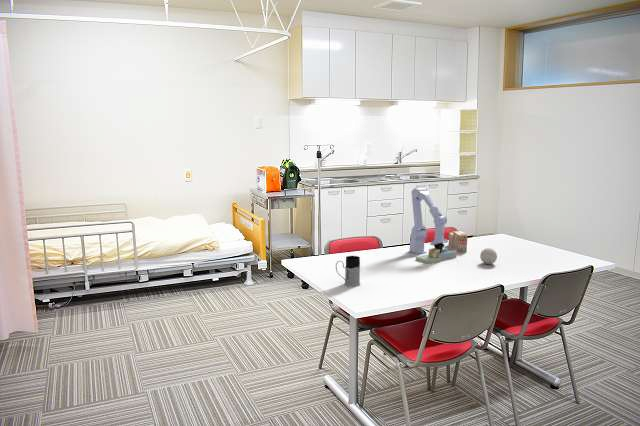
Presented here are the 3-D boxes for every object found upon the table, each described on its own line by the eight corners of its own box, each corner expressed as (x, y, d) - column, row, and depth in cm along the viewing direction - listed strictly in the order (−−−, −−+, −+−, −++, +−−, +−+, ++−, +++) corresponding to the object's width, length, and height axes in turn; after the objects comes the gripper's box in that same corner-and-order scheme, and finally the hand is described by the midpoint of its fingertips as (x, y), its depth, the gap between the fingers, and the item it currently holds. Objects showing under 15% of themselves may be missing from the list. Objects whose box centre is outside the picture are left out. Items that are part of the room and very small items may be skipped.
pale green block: (415, 260, 333) (416, 253, 332) (444, 254, 348) (444, 247, 348) (429, 264, 323) (430, 257, 323) (458, 257, 339) (458, 251, 338)
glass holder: (363, 285, 280) (363, 258, 277) (338, 288, 275) (338, 261, 273) (356, 281, 288) (357, 254, 286) (332, 283, 283) (333, 256, 281)
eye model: (481, 265, 321) (482, 250, 319) (478, 261, 331) (479, 246, 329) (497, 266, 320) (499, 250, 318) (494, 262, 329) (495, 246, 328)
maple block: (428, 256, 334) (428, 249, 333) (433, 255, 337) (434, 247, 336) (434, 258, 330) (434, 250, 329) (439, 257, 333) (440, 249, 332)
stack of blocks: (448, 245, 374) (449, 228, 372) (456, 245, 375) (457, 228, 372) (457, 252, 353) (458, 234, 351) (466, 252, 354) (467, 234, 351)
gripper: (436, 236, 326) (435, 257, 328) (451, 233, 334) (450, 254, 337) (428, 234, 332) (427, 255, 334) (443, 232, 340) (442, 252, 342)
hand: (438, 254), depth 336 cm, fingers closed
